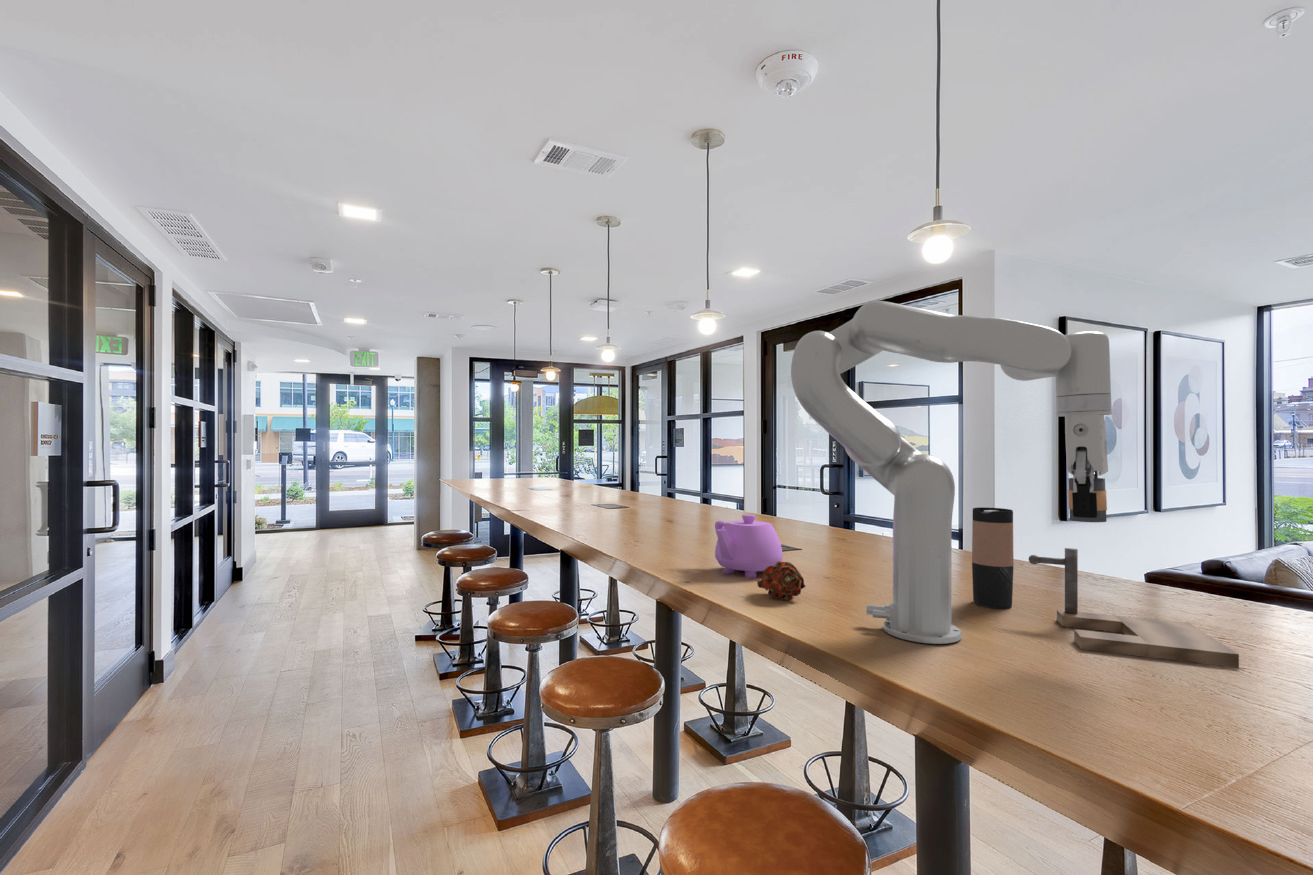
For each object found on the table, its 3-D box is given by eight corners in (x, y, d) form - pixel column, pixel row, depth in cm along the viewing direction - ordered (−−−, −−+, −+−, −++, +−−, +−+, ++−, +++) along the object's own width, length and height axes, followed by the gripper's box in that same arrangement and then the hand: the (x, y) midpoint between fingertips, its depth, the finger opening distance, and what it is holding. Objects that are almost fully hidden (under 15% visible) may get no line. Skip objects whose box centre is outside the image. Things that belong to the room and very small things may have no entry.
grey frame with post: (1045, 644, 101) (1045, 561, 101) (1027, 616, 118) (1027, 545, 118) (1238, 667, 91) (1238, 574, 91) (1188, 633, 108) (1188, 555, 108)
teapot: (684, 571, 157) (685, 514, 157) (734, 562, 171) (734, 509, 171) (744, 585, 143) (744, 521, 143) (793, 573, 156) (793, 515, 156)
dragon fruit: (799, 612, 125) (763, 607, 135) (821, 584, 129) (785, 581, 139) (777, 581, 124) (742, 578, 134) (800, 553, 128) (765, 553, 138)
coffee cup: (1067, 521, 100) (1065, 479, 101) (1071, 518, 104) (1069, 477, 105) (1105, 523, 97) (1104, 479, 97) (1108, 519, 101) (1107, 478, 101)
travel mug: (1002, 600, 130) (1003, 507, 131) (1020, 609, 123) (1020, 511, 123) (965, 599, 131) (966, 507, 131) (981, 608, 124) (981, 510, 124)
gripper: (1106, 403, 92) (1111, 522, 92) (1115, 407, 105) (1119, 512, 105) (1048, 406, 97) (1052, 519, 97) (1063, 410, 110) (1067, 509, 110)
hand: (1087, 514), depth 101 cm, fingers closed on coffee cup, 5 cm apart
